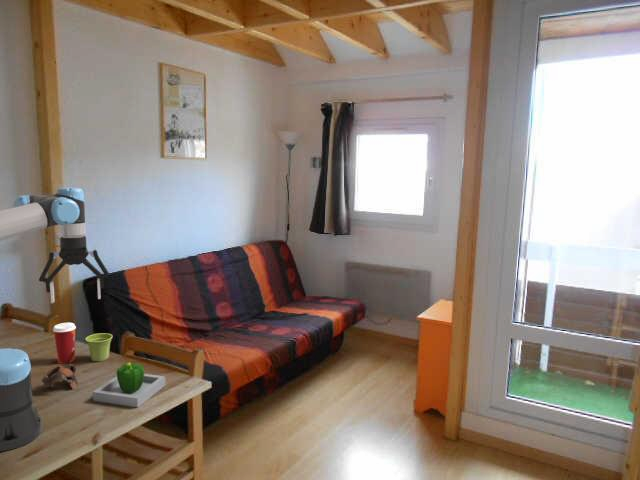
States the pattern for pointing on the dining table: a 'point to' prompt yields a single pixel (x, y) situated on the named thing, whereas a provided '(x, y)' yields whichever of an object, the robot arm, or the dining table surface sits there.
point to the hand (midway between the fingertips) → (76, 300)
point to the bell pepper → (130, 377)
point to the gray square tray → (117, 396)
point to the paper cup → (65, 342)
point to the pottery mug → (67, 371)
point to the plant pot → (99, 346)
